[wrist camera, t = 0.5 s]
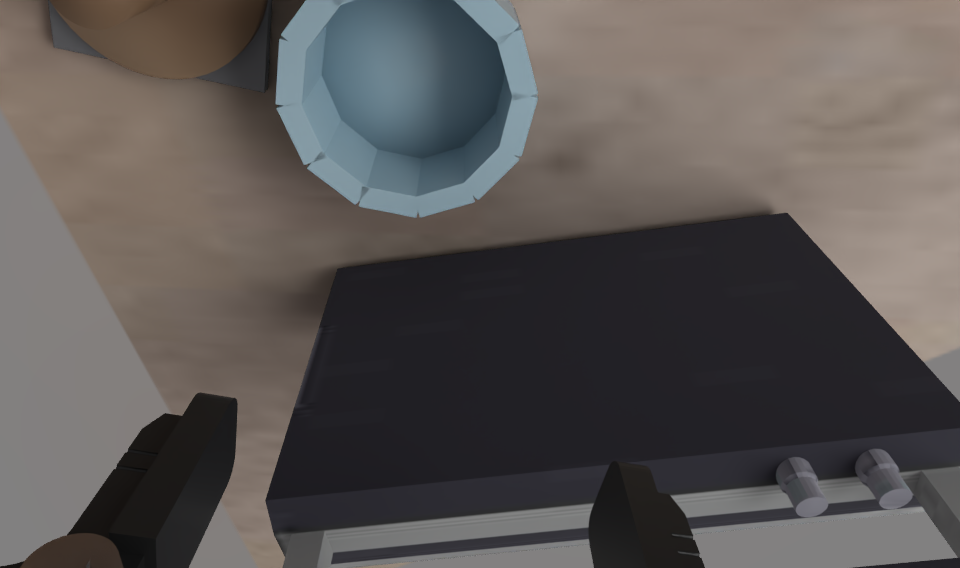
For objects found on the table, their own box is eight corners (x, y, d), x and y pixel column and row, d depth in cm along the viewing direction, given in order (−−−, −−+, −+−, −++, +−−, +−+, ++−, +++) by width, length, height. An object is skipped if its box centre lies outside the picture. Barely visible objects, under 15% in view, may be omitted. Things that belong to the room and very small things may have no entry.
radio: (362, 337, 38) (281, 710, 21) (339, 261, 35) (226, 625, 18) (781, 287, 37) (1044, 645, 20) (793, 205, 34) (1114, 542, 17)
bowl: (314, -84, 26) (285, -73, 22) (550, -24, 27) (566, -3, 23) (296, 145, 31) (270, 189, 27) (495, 186, 33) (499, 233, 29)
